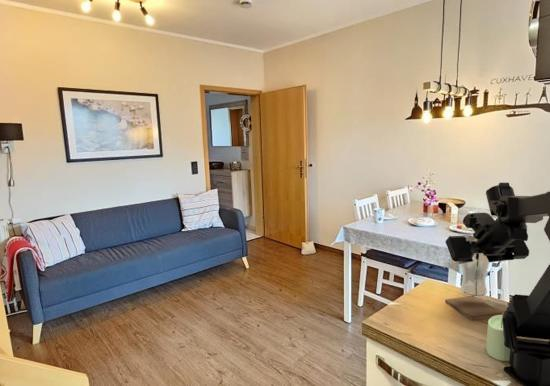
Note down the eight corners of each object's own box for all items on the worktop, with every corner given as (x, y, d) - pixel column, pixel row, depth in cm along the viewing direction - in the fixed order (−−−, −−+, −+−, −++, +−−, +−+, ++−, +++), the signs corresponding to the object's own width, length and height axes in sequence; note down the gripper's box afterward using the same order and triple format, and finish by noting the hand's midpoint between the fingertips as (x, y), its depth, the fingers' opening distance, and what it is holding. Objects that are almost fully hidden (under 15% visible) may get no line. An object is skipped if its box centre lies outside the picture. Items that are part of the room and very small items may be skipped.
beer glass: (487, 298, 88) (489, 242, 86) (457, 293, 92) (458, 239, 90) (489, 288, 94) (490, 235, 92) (460, 284, 98) (461, 233, 96)
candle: (499, 363, 72) (502, 327, 70) (480, 349, 76) (482, 315, 75) (519, 359, 73) (522, 323, 71) (499, 345, 78) (501, 311, 76)
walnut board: (501, 315, 90) (501, 312, 90) (471, 320, 88) (471, 316, 88) (472, 298, 100) (472, 295, 100) (445, 302, 98) (445, 299, 98)
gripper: (524, 203, 86) (492, 234, 98) (450, 205, 85) (428, 236, 98) (547, 242, 79) (510, 270, 92) (467, 245, 79) (441, 273, 91)
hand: (471, 261), depth 93 cm, fingers closed on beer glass, 6 cm apart
